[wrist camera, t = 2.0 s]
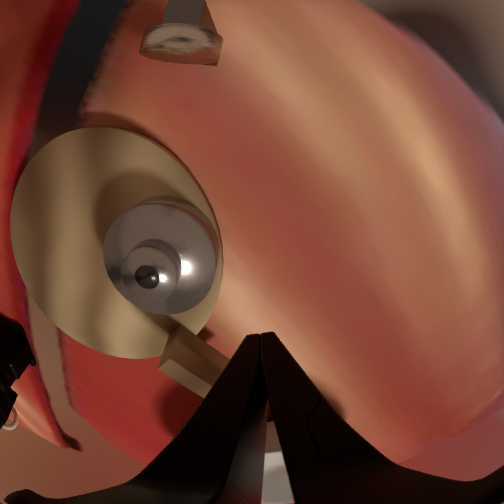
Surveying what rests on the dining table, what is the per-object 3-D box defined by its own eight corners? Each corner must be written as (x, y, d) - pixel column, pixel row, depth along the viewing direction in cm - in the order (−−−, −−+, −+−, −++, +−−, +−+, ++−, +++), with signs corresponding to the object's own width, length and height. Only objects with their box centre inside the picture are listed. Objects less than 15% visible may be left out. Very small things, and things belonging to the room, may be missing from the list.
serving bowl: (181, 398, 27) (169, 451, 21) (377, 379, 26) (397, 429, 20) (219, 470, 35) (217, 506, 29) (351, 457, 34) (359, 492, 28)
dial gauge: (174, 76, 15) (126, 45, 8) (182, 41, 14) (141, -6, 7) (229, 81, 16) (213, 46, 8) (237, 46, 15) (226, -7, 7)
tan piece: (36, 320, 23) (11, 349, 18) (17, 129, 15) (-25, 135, 11) (226, 370, 24) (222, 414, 20) (271, 145, 17) (278, 149, 12)
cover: (120, 283, 19) (96, 315, 16) (120, 189, 17) (88, 205, 13) (212, 301, 20) (204, 339, 16) (227, 204, 17) (220, 225, 13)
